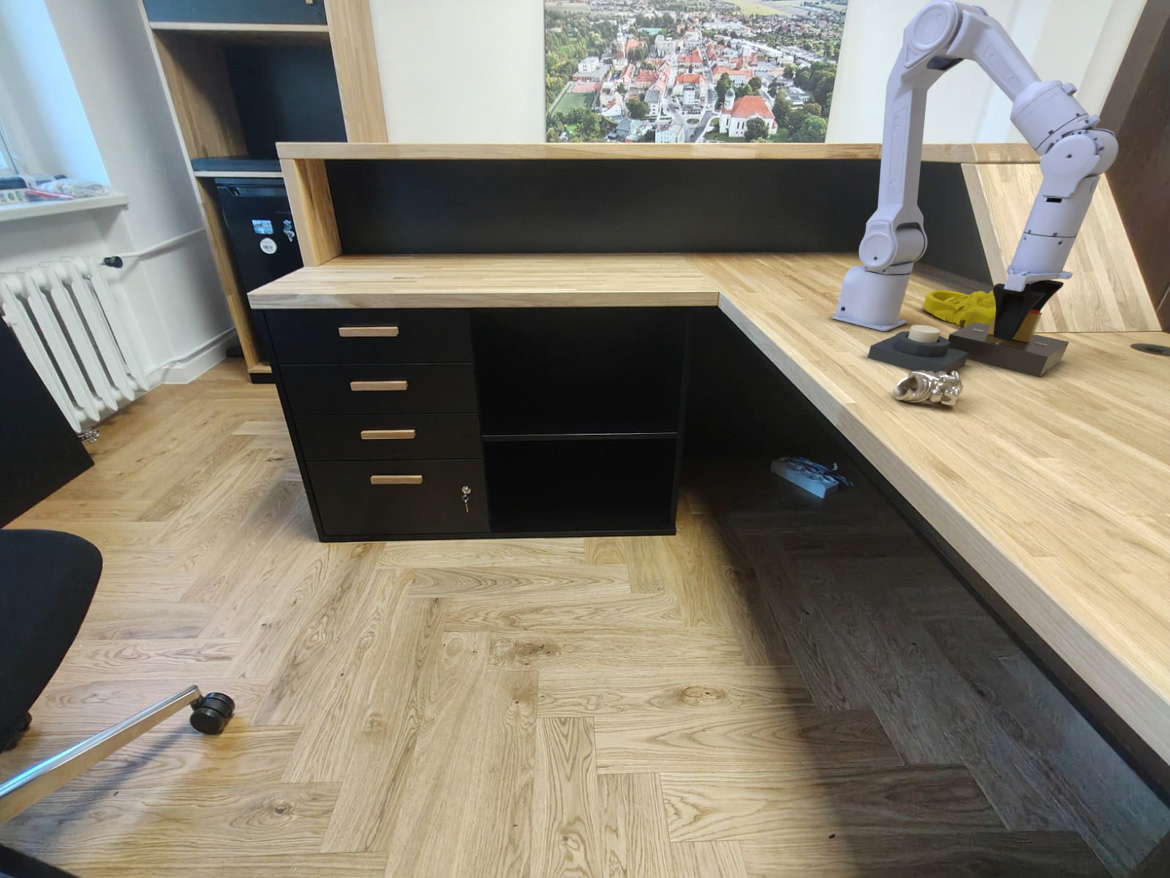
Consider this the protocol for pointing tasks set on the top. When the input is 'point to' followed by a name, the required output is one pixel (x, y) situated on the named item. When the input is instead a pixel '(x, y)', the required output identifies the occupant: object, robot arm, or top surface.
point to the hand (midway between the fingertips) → (1009, 334)
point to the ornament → (929, 387)
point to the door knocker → (961, 306)
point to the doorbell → (918, 354)
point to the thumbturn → (1023, 326)
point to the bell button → (924, 334)
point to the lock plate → (1008, 350)
